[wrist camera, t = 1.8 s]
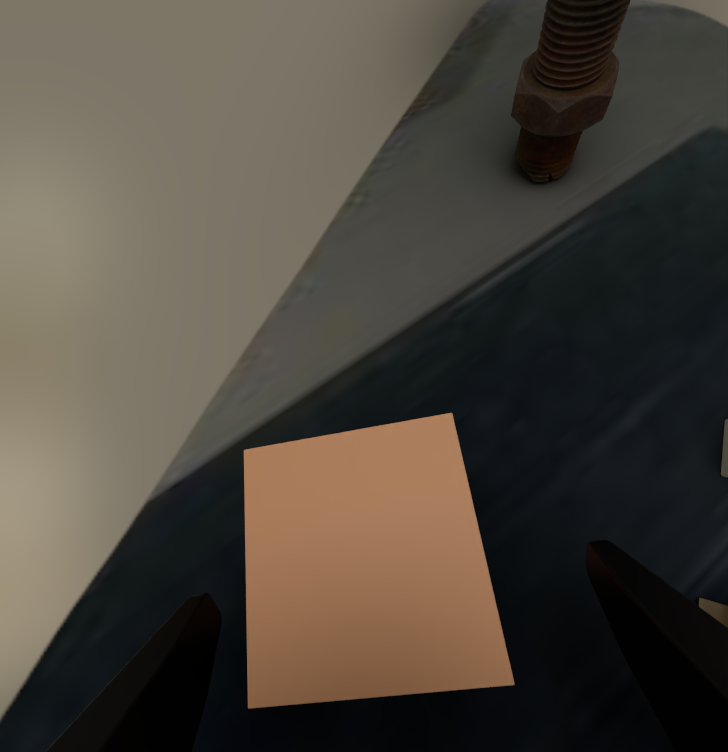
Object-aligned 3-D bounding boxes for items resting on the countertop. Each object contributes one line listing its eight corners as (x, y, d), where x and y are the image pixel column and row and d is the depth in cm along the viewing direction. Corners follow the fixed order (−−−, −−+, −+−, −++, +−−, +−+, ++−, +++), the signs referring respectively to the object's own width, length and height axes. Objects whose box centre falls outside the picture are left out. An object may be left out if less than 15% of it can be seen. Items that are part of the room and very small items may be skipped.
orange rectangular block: (463, 572, 16) (514, 684, 5) (373, 583, 17) (247, 708, 6) (444, 477, 18) (451, 412, 7) (361, 491, 18) (243, 450, 7)
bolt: (571, 123, 24) (755, -425, 10) (607, 180, 22) (897, -401, 8) (479, 153, 24) (532, -328, 10) (507, 210, 22) (616, -285, 9)
